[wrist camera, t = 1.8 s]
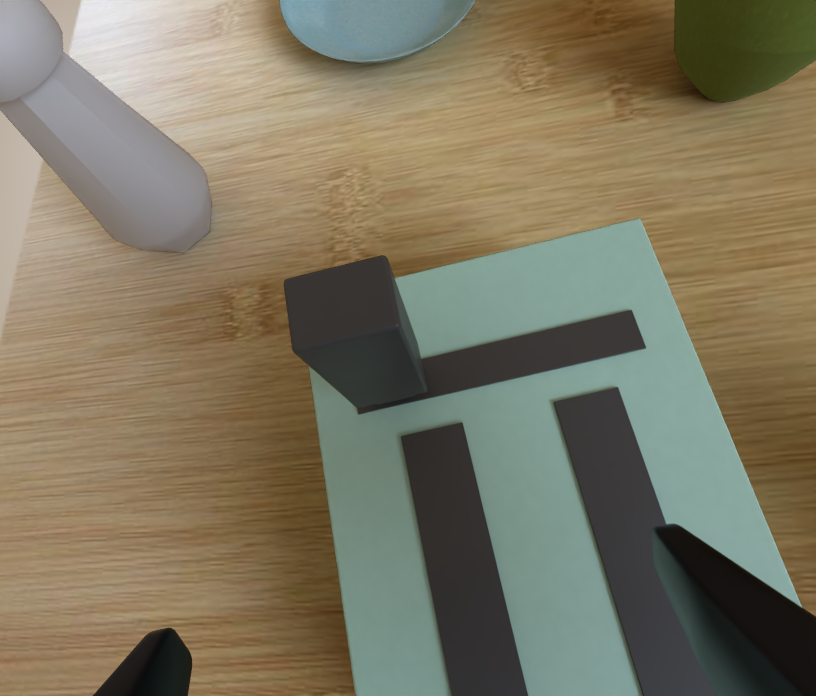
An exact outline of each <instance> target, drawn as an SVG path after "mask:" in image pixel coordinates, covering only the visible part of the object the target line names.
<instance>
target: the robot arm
mask: <svg viewBox="0 0 816 696" xmlns="http://www.w3.org/2000/svg"><path fill="white" fill-rule="evenodd" d="M652 558H653V564H654V567H655V570H656V573H657V575H658V577H659V579H660V582H661V584H662V586H663V588H664V590H665V592H666V595H667V597H668V599H669V601H670V603H671V606H672V608H673V610H674V612H675V614H676V616H677V619H678V621H679V623H680V625H681V627H682V630H683V632H684V634H685V636H686V638H687V640H688V643H689V645H690V647H691V649H692V651H693V653H694V655H695V657H696V660H697V661H698V663H699V665H700V667H701V669H702V670H703V672H704V674H705V676H706V678H707V679H708V681H709V683H710V684H711V686H712V688H713V690H714V691H715V693H716V695H717V696H816V617H815V616H814V615H812V614H811V613H809V612H808V611H806V610H805V609H803V608H802V607H800V606H799V605H797V604H796V603H795V602H793V601H792V600H790V599H789V598H787V597H786V596H784V595H783V594H781V593H780V592H778V591H777V590H775V589H774V588H772V587H771V586H769V585H768V584H766V583H765V582H763V581H762V580H760V579H759V578H757V577H756V576H754V575H753V574H751V573H750V572H748V571H747V570H745V569H744V568H743V567H741V566H740V565H738V564H737V563H735V562H734V561H732V560H731V559H729V558H728V557H726V556H725V555H723V554H722V553H720V552H719V551H717V550H716V549H714V548H713V547H711V546H710V545H708V544H707V543H705V542H704V541H702V540H701V539H699V538H698V537H696V536H695V535H693V534H692V533H691V532H689V531H688V530H686V529H685V528H683V527H682V526H680V525H678V524H675V523H671V524H666V525H661V526H657V527H654V528H653V530H652ZM191 670H192V657H191V654H190V652H189V650H188V649H187V647H186V646H185V644H184V643H183V641H182V640H181V638H180V637H179V635H178V634H177V633H176V631H175V630H174V629H172V628H165V629H160V630H155V631H152V632H150V633H148V634H147V635H146V636H145V637H144V638H143V639H142V640H141V642H140V643H139V644H138V645H137V646H136V647H135V648H134V649H133V651H132V652H131V653H130V654H129V655H128V656H127V657H126V659H125V660H124V661H123V662H122V663H121V664H120V665H119V667H118V668H117V669H116V670H115V671H114V672H113V673H112V675H111V676H110V677H109V678H108V679H107V680H106V681H105V682H104V684H103V685H102V686H101V687H100V688H99V689H98V690H97V692H96V693H95V694H94V695H93V696H188V690H189V684H190V677H191Z"/></svg>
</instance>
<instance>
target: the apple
mask: <svg viewBox="0 0 816 696" xmlns="http://www.w3.org/2000/svg"><path fill="white" fill-rule="evenodd" d="M674 51H675V54H676V57H677V60H678V64H679V67H680V68H681V70H682V71H683V72H684V73H685V74H686V76H687V77H688V78H689V79H690V81H691V82H692V83H693V84H694V85H695V87H696V88H697V89H698V90H699V91H700V92H701V93H702V94H703V95H704V96H706V97H707V98H709V99H710V100H713V101H719V102H729V101H735V100H738V99H741V98H744V97H747V96H750V95H753V94H756V93H759V92H762V91H765V90H768V89H770V88H772V87H773V86H775V85H777V84H779V83H781V82H783V81H785V80H787V79H788V78H790V77H791V76H793V75H794V74H796V73H797V72H799V71H800V70H802V69H803V68H805V67H806V66H808V65H809V64H811V63H812V62H814V61H815V60H816V0H675V18H674Z"/></svg>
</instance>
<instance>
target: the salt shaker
mask: <svg viewBox="0 0 816 696" xmlns="http://www.w3.org/2000/svg"><path fill="white" fill-rule="evenodd" d="M0 110H1V111H2V112H3V114H4V115H6V117H7V118H8V119H9V120H10V122H11V123H12V124H13V125H14V126H15V127H16V128H17V129H18V131H19V132H20V133H21V134H22V135H23V136H24V137H25V139H27V141H28V142H29V143H30V144H31V145H32V147H33V148H34V149H35V150H36V151H37V152H38V153H39V155H40V156H41V157H42V158H43V159H44V160H45V161H46V162H47V164H48V165H49V166H50V167H51V168H52V169H53V170H54V172H55V173H56V174H57V175H58V176H59V177H60V178H61V180H62V181H63V182H64V183H65V184H66V185H67V186H68V188H69V189H70V190H71V191H72V192H73V193H74V194H75V195H76V197H77V198H78V199H79V200H80V201H81V202H82V203H83V205H84V206H85V207H86V208H87V209H88V210H89V211H90V213H91V214H92V215H93V216H94V217H95V218H96V219H97V221H98V222H99V223H100V224H101V225H102V226H103V227H104V228H105V230H106V231H107V232H108V233H109V234H110V235H111V236H112V238H113V239H115V240H117V241H119V242H121V243H124V244H126V245H129V246H132V247H135V248H138V249H141V250H153V251H167V252H178V253H184V252H185V251H187V250H188V249H189V248H190V247H191V246H193V245H194V244H195V243H196V242H198V241H199V240H200V239H201V238H203V237H204V236H205V235H206V234H207V233H209V232H210V220H211V207H212V202H211V196H210V191H209V186H208V180H207V175H206V173H205V171H204V169H203V167H202V166H201V165H200V164H199V163H198V162H197V161H196V160H195V159H194V158H193V157H192V156H191V155H190V154H189V153H188V152H186V151H185V150H184V149H183V148H181V147H180V146H179V145H178V144H176V143H175V142H174V141H173V140H171V139H170V138H169V137H168V136H166V135H165V134H164V133H162V132H161V131H160V130H159V129H157V128H156V127H155V126H154V125H152V124H151V123H150V122H149V121H147V120H146V119H145V118H144V117H142V116H141V115H140V114H139V113H137V112H136V111H135V110H134V109H132V108H131V107H130V106H129V105H127V104H126V103H125V102H124V101H122V100H121V99H120V98H119V97H117V96H116V95H115V94H114V93H113V92H111V91H110V90H109V89H108V88H107V87H105V86H104V85H103V84H102V83H101V82H99V81H98V80H97V79H96V78H95V77H93V76H92V75H91V74H90V73H89V72H87V71H86V70H85V69H84V68H83V67H81V66H80V65H79V64H78V63H77V62H75V61H74V60H73V59H72V58H71V57H69V56H68V55H67V54H66V53H65V52H63V37H62V31H61V28H60V26H59V24H58V22H57V21H56V19H55V18H54V17H53V16H52V14H51V13H50V12H49V10H48V9H47V8H46V6H45V5H44V4H43V3H42V2H41V1H40V0H0Z"/></svg>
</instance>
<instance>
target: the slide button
mask: <svg viewBox="0 0 816 696" xmlns="http://www.w3.org/2000/svg"><path fill="white" fill-rule="evenodd" d="M284 291H285V298H286V306H287V313H288V321H289V329H290V336H291V344H292V350H293V352H294V353H295V354H296V355H297V356H298V357H300V358H301V359H302V360H303V361H304V362H305V363H306V364H308V365H309V366H310V367H311V368H312V369H313V370H314V371H315V372H317V373H318V374H319V375H320V376H321V377H322V378H323V379H324V380H326V381H327V382H328V383H329V384H330V385H331V386H332V387H334V388H335V389H336V390H337V391H338V392H339V393H340V394H341V395H343V396H344V397H345V398H346V399H347V400H348V401H349V402H351V403H352V404H353V405H354V406H355V407H357V408H360V407H364V406H369V405H373V404H384V403H388V402H392V401H397V400H401V399H405V398H410V397H414V396H415V395H416V394H421V393H425V392H426V391H427V389H428V387H427V383H426V378H425V374H424V369H423V365H422V360H421V356H420V351H419V347H418V343H417V340H416V337H415V334H414V331H413V328H412V326H411V323H410V320H409V317H408V314H407V312H406V309H405V306H404V303H403V300H402V298H401V295H400V292H399V289H398V286H397V284H396V281H395V278H394V275H393V272H392V270H391V267H390V264H389V261H388V259H387V258H386V256H383V255H381V256H377V257H373V258H369V259H365V260H361V261H357V262H353V263H349V264H345V265H341V266H337V267H333V268H329V269H325V270H321V271H317V272H313V273H309V274H304V275H300V276H296V277H292V278H288V279H286V280H284Z"/></svg>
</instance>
